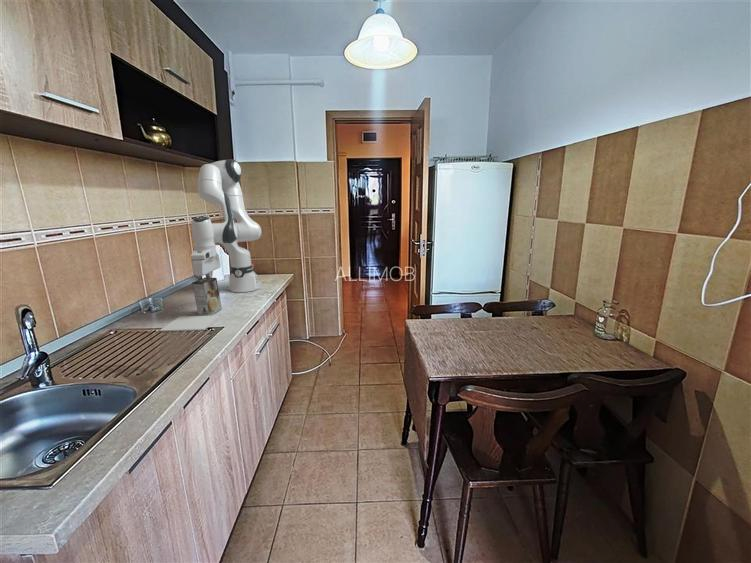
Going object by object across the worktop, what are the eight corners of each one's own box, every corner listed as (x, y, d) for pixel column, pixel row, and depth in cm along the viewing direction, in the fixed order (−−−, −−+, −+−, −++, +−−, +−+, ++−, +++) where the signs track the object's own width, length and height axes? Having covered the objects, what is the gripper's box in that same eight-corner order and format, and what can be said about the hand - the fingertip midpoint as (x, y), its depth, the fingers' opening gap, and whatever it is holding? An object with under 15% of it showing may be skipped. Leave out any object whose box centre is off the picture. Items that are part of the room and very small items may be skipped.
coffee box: (210, 308, 164) (205, 276, 160) (222, 309, 163) (217, 277, 158) (197, 315, 156) (191, 282, 151) (209, 316, 154) (203, 283, 150)
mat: (180, 317, 153) (179, 316, 153) (220, 316, 154) (219, 315, 154) (159, 331, 138) (159, 330, 138) (204, 330, 138) (204, 329, 138)
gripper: (209, 249, 167) (212, 276, 170) (188, 256, 147) (192, 286, 151) (221, 248, 167) (225, 275, 171) (202, 255, 147) (207, 286, 151)
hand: (210, 281), depth 160 cm, fingers closed
